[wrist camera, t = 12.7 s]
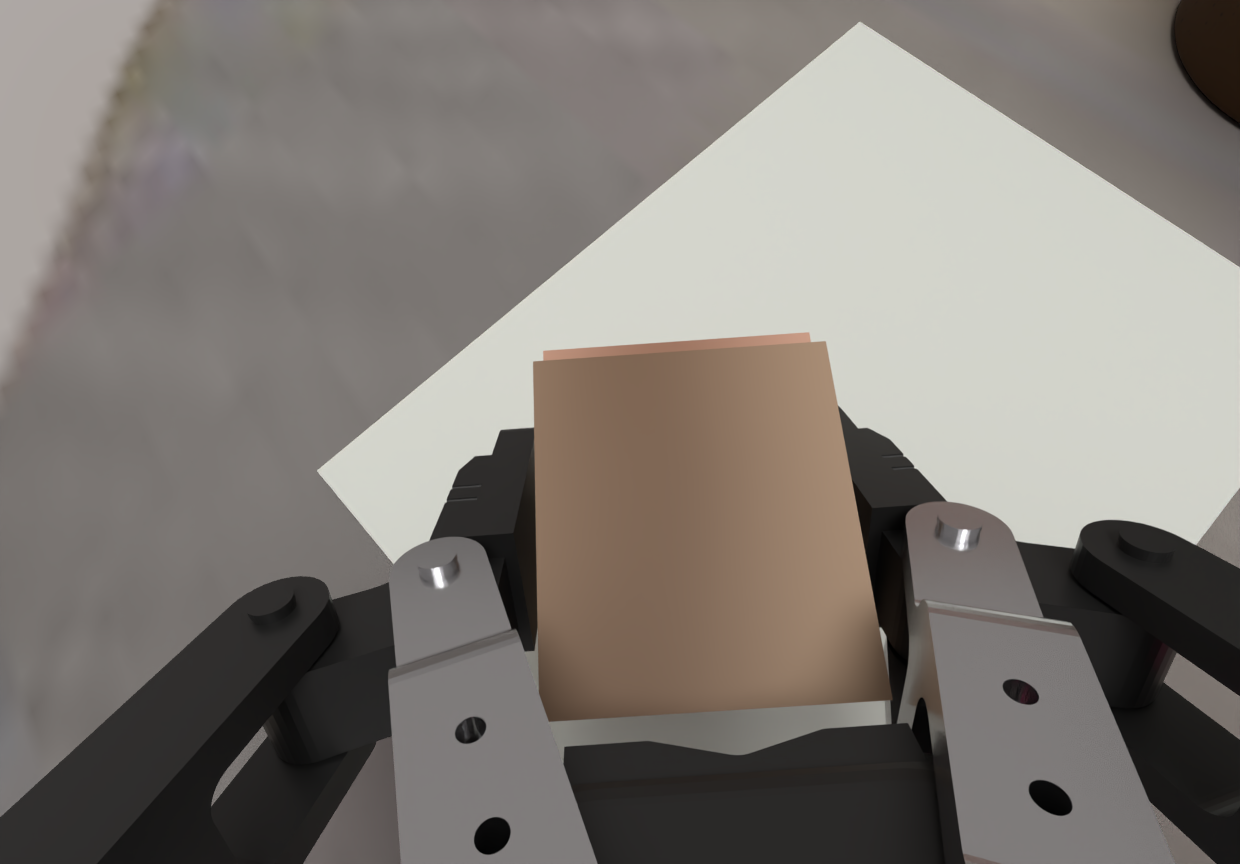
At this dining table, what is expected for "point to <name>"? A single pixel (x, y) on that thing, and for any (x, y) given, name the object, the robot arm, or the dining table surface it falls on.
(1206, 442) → the rubber mat
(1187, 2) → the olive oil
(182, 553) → the dining table surface
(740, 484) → the walnut block
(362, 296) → the dining table surface
